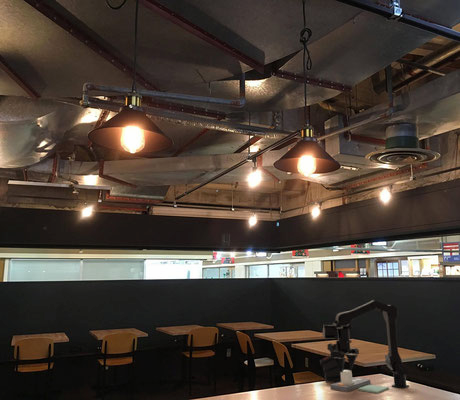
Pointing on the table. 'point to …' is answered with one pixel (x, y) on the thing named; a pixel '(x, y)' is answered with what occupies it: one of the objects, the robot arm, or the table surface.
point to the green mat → (373, 388)
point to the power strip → (355, 384)
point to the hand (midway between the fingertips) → (346, 370)
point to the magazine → (331, 369)
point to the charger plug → (346, 377)
